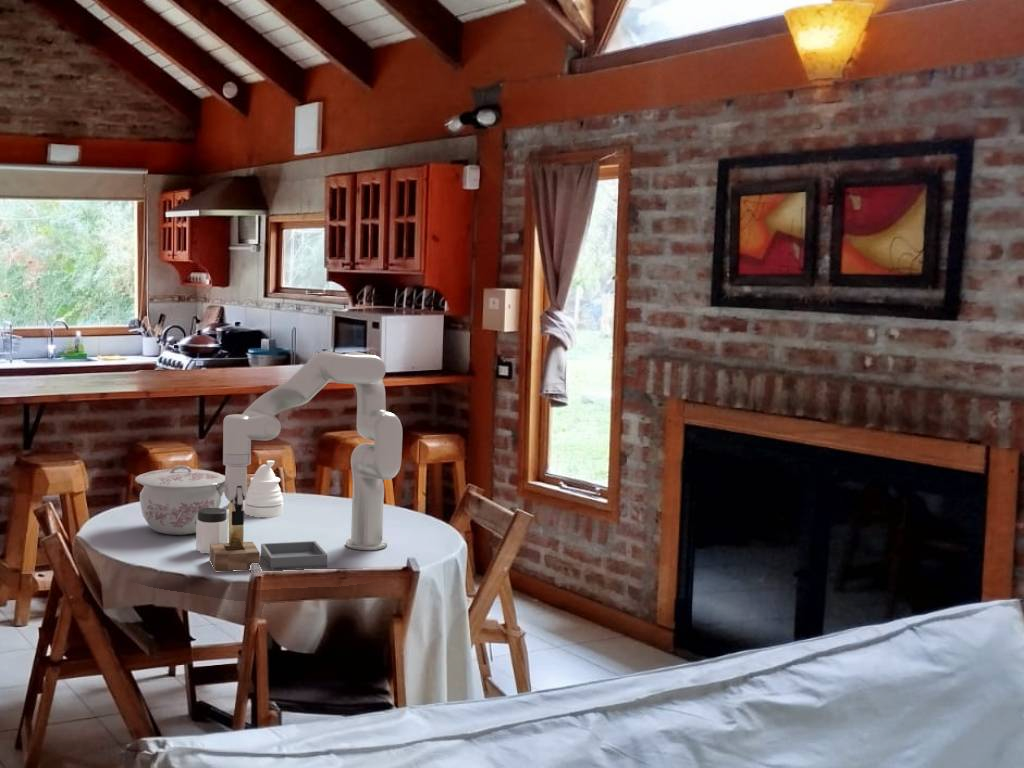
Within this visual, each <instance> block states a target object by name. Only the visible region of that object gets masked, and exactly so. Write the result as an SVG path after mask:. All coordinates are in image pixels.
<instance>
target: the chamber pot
mask: <svg viewBox="0 0 1024 768" xmlns="http://www.w3.org/2000/svg"><path fill="white" fill-rule="evenodd" d="M134 479H135V482H136V483H138V484H140V485H142V486H143V487H142V490H141V491H140V492H139V503H140V508H141V513H142V517H143V518H144V520H145V521H146V523H147V525H148V526H149V528H150V529H152V530H153V531H155V532H157V533H159V534H163V533H164V534H163V535H167V534H171V535H170V536H187V535H186V534H191V535H195V534H194V533H196V521H197V519H198V511H199V510H200V509H204V508H222V509H225V510H226V511H229V503H228V504H227V505H224V506H222V507H221V504H222V496H223V495H224V488H225V475H224V474H221V473H219V472H215V471H211V470H206V469H200V468H199V469H198V468H190V466H187V465H179V464H178V465H176V466H173V467H172V468H168V469H167V468H166V469H158V470H152V471H148V472H145V473H141V474H139V475H138V476H136V477H135V478H134Z"/></svg>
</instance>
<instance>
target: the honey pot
mask: <svg viewBox="0 0 1024 768" xmlns="http://www.w3.org/2000/svg"><path fill="white" fill-rule="evenodd" d="M275 461H276V460H266V464H265V463H264V464H262V465H260V466H259V467H258V469H257V470H256V471H255V473H254V475H253V476H252V477H250V480H249V481H250V484H249V486H248V488H247V496H246V500H244V513H245V514H247V515H250V516H249V517H251V516H254V517H253V518H260V517H262V519H264V518H263V517H265V518H266V519H267V518H275V517H280V516H282V515H283V514H284V497H283V495H282V494H283V493H282V491H281V490H282V489H281V487H280V485H279V482H281V478H280V477H278V476H276V475H275V472H274V471H273V469H272V467H273V466H274V465H275ZM245 514H244V515H245ZM247 515H246V516H247Z"/></svg>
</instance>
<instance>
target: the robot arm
mask: <svg viewBox="0 0 1024 768" xmlns="http://www.w3.org/2000/svg"><path fill="white" fill-rule="evenodd" d="M386 370H387V369H386V364H385V361H384V360H383V359H382V358H380V357H379V356H377V355H374V354H369V353H368V354H367V353H364V352H359V351H350V352H348V351H347V352H346V353H344V354H343V353H338V352H332V351H326V350H325V351H324V350H323V351H319V352H317V353H316V354H314V355H313V356H312V357H311V358H309V359H308V361H306V363H304V364H303V365H302V366H301V367H300V368H299V369H298V370H297V371H296V372H295V373H294V374H293V375H292V376H290V378H289V379H287V381H285V382H283V383H281V384H279V385H277V386H275V387H274V388H272V389H271V390H269V391H267V392H265V393H263V394H261V395H260V396H259V397H257V399H256V400H254V401H253V402H252V403H251V404H250V405H249V406H248V407H247V408H246V409H245V410H244V411H243V412H242V413H239V414H238V413H234V414H228V415H226V416H225V417H224V419H223V420H222V421H223V425H222V426H223V427H222V428H223V429H222V433H223V436H222V437H223V439H222V440H223V441H222V444H223V445H222V465H223V466H225V472H224V473H225V475H224V476H225V487H224V491H223V494H224V496H225V498H226V499H227V501H228V502H232V501H233V511H232V525H233V526H234V525H243V524H244V521H245V520H244V517H245V514H244V511H243V502H244V501H245V500H246V496H247V491H248V488H247V487H248V469H247V466H250V465H251V461H252V460H251V458H252V456H251V455H252V451H251V450H252V441H266V442H267V441H271V440H274V439H275V438H277V437H278V436H279V435H280V433H281V430H282V426H281V422H280V420H279V419H278V418H277V416H276V415H277V414H279V413H281V412H283V411H286V410H288V409H293V408H297V407H300V406H303V405H306V404H308V403H309V401H311V400H312V399H313V398H314V397H315V396H316V395H317V394H318V393H319V392H320V391H321V390H322V389H323V388H324V387H325V386H326V385H327V384H328V383H329V382H331V383H336V384H345V385H347V384H348V385H353V386H354V388H355V390H356V399H357V401H356V402H357V405H356V406H357V407H356V431H357V434H358V435H359V436H360V437H362V438H363V439H366V440H369V441H373V443H372V442H371V443H370V442H365V443H364V442H363V443H361V444H358V445H357V446H356V447H355V448H354V449H353V451H352V452H351V456H350V467H351V473H352V474H351V475H352V497H351V498H352V499H351V500H352V501H351V502H352V504H351V526H350V527H351V529H350V530H351V533H350V538H348V539H346V540H345V546H346V547H348V548H349V549H353V550H360V551H376V550H381V549H384V548H385V549H386V547H387V546H388V542H387V540H385V539H383V532H384V531H383V527H384V526H383V525H384V524H383V523H384V503H385V502H384V501H385V485H384V481H387V480H388V481H389V480H393V478H395V477H396V476H397V474H398V473H399V472H400V470H401V466H402V455H403V454H402V453H403V426H402V423H401V420H400V419H399V417H398V416H397V415H396V414H395V413H392V412H390V411H387V410H386V409H387V408H386V405H387V404H386V388H385V384H384V382H383V379H384V377H385V375H386V372H387V371H386ZM235 502H237V503H236V505H235ZM244 525H245V524H244Z"/></svg>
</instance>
